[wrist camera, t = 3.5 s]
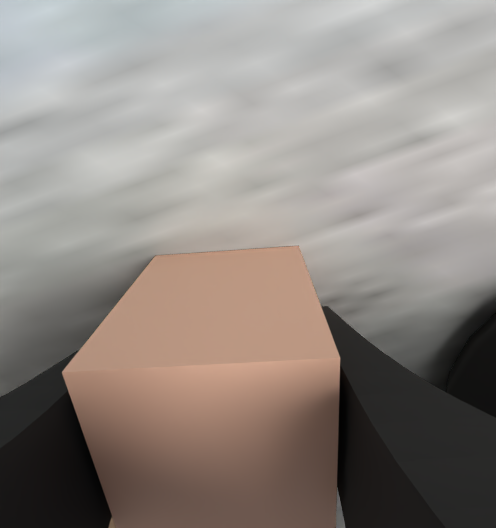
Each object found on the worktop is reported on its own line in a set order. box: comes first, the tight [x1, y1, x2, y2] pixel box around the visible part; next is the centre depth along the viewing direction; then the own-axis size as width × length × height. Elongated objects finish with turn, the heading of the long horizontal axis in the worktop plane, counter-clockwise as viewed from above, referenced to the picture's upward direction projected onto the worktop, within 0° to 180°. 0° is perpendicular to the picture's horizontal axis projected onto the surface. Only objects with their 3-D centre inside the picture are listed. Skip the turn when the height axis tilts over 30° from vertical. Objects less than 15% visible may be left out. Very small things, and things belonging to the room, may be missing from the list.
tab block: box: [62, 246, 340, 528], centre depth 9 cm, size 4×4×6 cm
